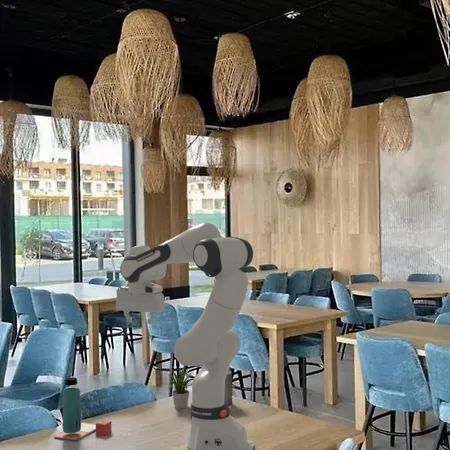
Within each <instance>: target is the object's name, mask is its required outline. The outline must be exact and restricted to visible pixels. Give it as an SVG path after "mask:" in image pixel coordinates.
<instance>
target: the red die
mask: <svg viewBox="0 0 450 450" xmlns="http://www.w3.org/2000/svg"><path fill="white" fill-rule="evenodd" d="M95 424H96V431H95V435H97V436H104V437H105V436H108V435H109V434H111V433H112V420H105V419H101V420H99V421H98V422H96V423H95Z"/></svg>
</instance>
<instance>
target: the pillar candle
mask: <svg viewBox="0 0 450 450" xmlns="http://www.w3.org/2000/svg"><path fill="white" fill-rule="evenodd" d="M232 374H233V372H232V371H231V370H229V369H228V371H227V375H226V379H225V395H224V402H225V404H226V405H227V406H228V407H229V406H231V407H232V406H233V379H232V377H233V375H232Z"/></svg>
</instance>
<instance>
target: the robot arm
mask: <svg viewBox="0 0 450 450" xmlns="http://www.w3.org/2000/svg"><path fill="white" fill-rule="evenodd" d="M253 258H254V250H253V246H252V244H251V243H250V242H249V241H248V240H246V239H243V238H241V237H236V236H233V235H229V236H227V237H225V236H222V234H221V232H220V230H219V228H218V227H217V226H216V225H215V224H213V223H211V222H203V223H200V224H197V225H194V226H192V227H190V228H188V229H186V230H185V231H183V232H181V233H180V234H177V235H175V236H174V237H172V238H171V239H168V240H166V241H165V242H163V243H161V244H158V245H157V246H154V247H152V248H150V246H149V245H146V244H145V245H143V244H142V245H136V246H133V247H131V248H130V249H129V252H128V255H126V256H125V257H124V259H123V260H122V262H121V263H120V269H119V271H120V274H121V276H122V278H123V279H124V280H125V281H126V282H127V286H120V287H118V288H117V289H116V297H115V298H116V300H115V309H116V310H117V311H123V315H124V317H125V318H126V323H130V324H131V323H132V322H133V317H131V315H130V312H142V313H143V312H144V313H149V315H150V318H148V319H147V324H148V325H152V324H154V319H155V318H156V315H157V313H159V314H160V313H163V312H164V311H165V305H166V304H165V296H164V294H163V293H162V292H163V291H164V288H163V286H162V285H159V284H157V283H154V282H152V281H157V280H158V281H159V280H162V279H164V278H165V277H166V276H167V274H168V272H169V265H170V264H171V265H172V264H173V265H174V264H189V263H193V262H194V264H195V265H196V267H197V268H198V270H200V271H201V272H203V273H204V274H205V276H206V277H208V278H214V285H213V287H212V289H211V292H210V295H209V297H208V301H207V302H206V305H205V307H204V309H203V312H202V314H201V315H200V316H199V318H198V319H197V320H196V321H195V322H194V324H193V325H192V326H191V327H190V328H189V329H188V331H187V332H185V333H184V334H183V335H181V336H180V337H177V339H176V341H175V344H174V345H173V346H174V348H173V353H174V357H175V359H176V361H177V362H178V363H179V364H180V365H182V366H187V367H198V366H201V368H200V369H199V372H198V373H197V374H196V375H195V376H194V377H193V378H194V379H193V380H191V381H192V383H191V384H192V385H191V403H190V420H191V425H190V432H189V436H188V437H189V438H188V441H187V448H188V449H189V450H254V448H255V445H254V444H255V443H254V441H253V440H250V439H248V435H247V430H246V428H245V426H244V425H242V424H241V423H240V422H238V420H237V419H235V418H234V417H233V416H232V415H231V413H230V411H231V410H232V405H231V406H229V407H228V406H227V405H226V404H225V402H224V395H225V379H226V375H227V371H228V370H229V368H230V365H231V363H232V361H233V360H234V358H235V357H236V355H238V353H239V352H240V348H241V340H240V337H239V334H238V333H237V332H236V331H235V330H233V329H232V328H233V327H234V326H235V324H236V322H237V319H238V317H239V314H240V312H241V309H242V308H243V307H242V306H244V301H245V300H246V299H245V298H246V295H247V291H248V288H249V287H248V286H249V278H248V276H247V274H246V273H245V272H244V271H243V270H242V269H244V268H247V267H249V265H250V264H251V263H252V261H253Z"/></svg>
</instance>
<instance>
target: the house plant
mask: <svg viewBox="0 0 450 450" xmlns="http://www.w3.org/2000/svg"><path fill="white" fill-rule="evenodd" d="M188 371H189V369H186V370H185V369H184V368H181V366H179V370H178V375H177V374H176V372H175V371H173V370H172V371H171V372H172V373H170V372H169V374H168V373H167V374H164V375H165V376H166V375H168V376H169V377H170V378H171V379H170V380H168V382H170V383H171V384H169V386H168V388H169V389H171V388H174V390H173V391H171V392H172V399H173V405H174V408H175V409H180V410H182V408H183V409H186V407H188V404H189V397H190V390H187V389H188V387H189V386H191V387H192V382H191V381H193V379H194V377H195V376H196V375H197V374H196V373H195V374H194V372H195V370H194V371H191V372H190V373H189V374H188V375H187V376H185V375H186V374H187V373H188ZM193 375H195V376H193Z"/></svg>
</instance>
